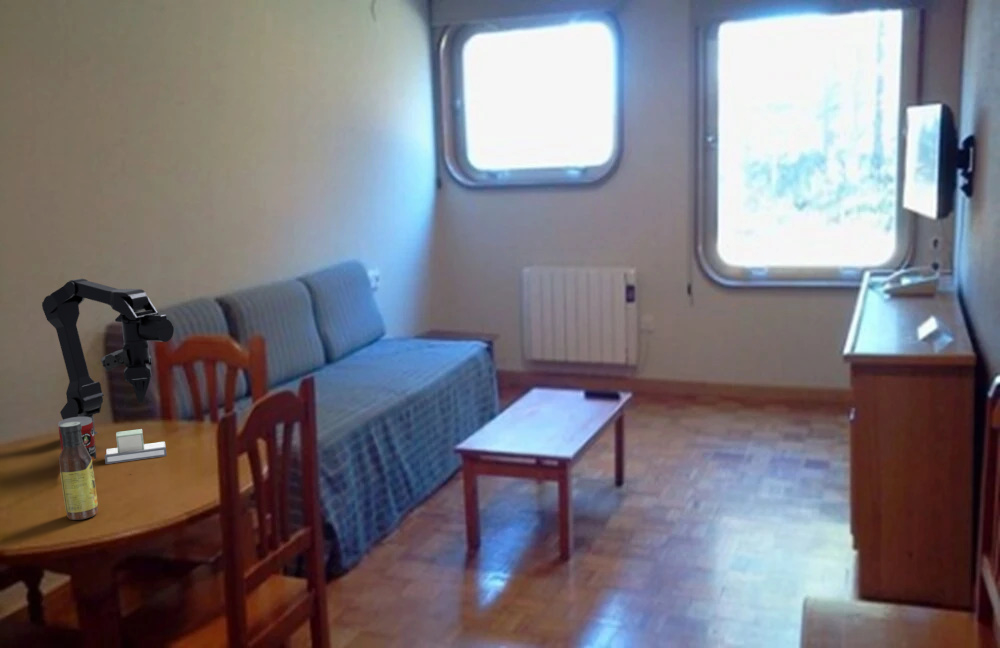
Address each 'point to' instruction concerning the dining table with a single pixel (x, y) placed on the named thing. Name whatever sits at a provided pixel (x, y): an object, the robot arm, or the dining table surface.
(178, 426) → the dining table surface
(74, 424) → the sauce bottle
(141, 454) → the shelf
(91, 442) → the canned food
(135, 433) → the carton
